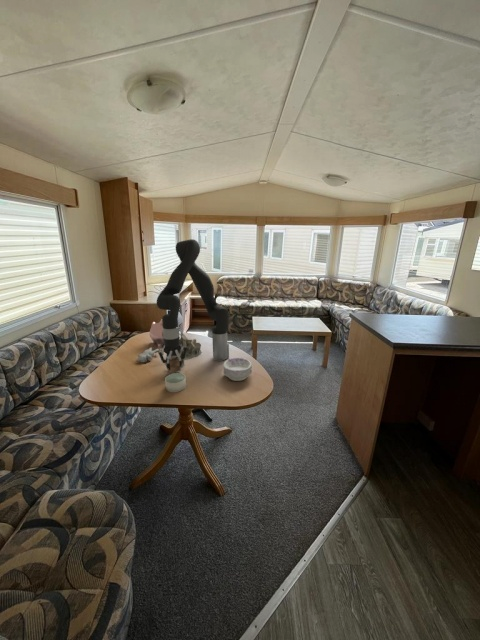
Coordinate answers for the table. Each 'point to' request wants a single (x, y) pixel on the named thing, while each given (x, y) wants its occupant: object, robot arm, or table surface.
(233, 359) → the white purple floral bowl
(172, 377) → the ceramic bowl
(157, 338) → the piggy bank
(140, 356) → the bunny figurine
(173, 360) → the walnut block
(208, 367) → the table surface
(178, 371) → the coffee box
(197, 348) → the ceramic cottage
